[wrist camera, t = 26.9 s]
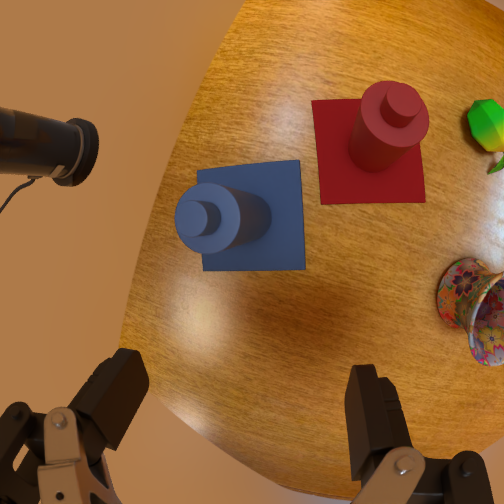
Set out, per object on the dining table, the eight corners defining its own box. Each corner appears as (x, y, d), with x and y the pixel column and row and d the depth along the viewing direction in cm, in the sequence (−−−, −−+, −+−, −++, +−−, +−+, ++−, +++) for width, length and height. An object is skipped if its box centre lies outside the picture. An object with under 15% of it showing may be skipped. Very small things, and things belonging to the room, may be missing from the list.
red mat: (320, 204, 30) (320, 204, 30) (311, 101, 29) (311, 100, 29) (424, 202, 27) (425, 202, 27) (410, 101, 26) (411, 100, 26)
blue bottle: (227, 241, 33) (159, 260, 19) (225, 195, 32) (154, 183, 18) (273, 239, 32) (231, 258, 18) (270, 192, 31) (226, 173, 17)
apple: (490, 87, 17) (532, 165, 17) (495, 89, 20) (532, 154, 19) (446, 116, 23) (485, 187, 23) (458, 113, 26) (492, 175, 26)
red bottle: (376, 182, 28) (417, 155, 14) (338, 151, 29) (348, 100, 15) (402, 148, 27) (453, 101, 13) (365, 118, 27) (389, 51, 13)
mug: (419, 315, 29) (452, 354, 19) (450, 241, 27) (497, 252, 17) (484, 341, 27) (522, 378, 16) (513, 276, 25) (561, 296, 15)
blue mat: (204, 270, 35) (202, 271, 34) (198, 171, 33) (196, 170, 33) (305, 269, 32) (305, 269, 31) (299, 160, 30) (299, 159, 30)
